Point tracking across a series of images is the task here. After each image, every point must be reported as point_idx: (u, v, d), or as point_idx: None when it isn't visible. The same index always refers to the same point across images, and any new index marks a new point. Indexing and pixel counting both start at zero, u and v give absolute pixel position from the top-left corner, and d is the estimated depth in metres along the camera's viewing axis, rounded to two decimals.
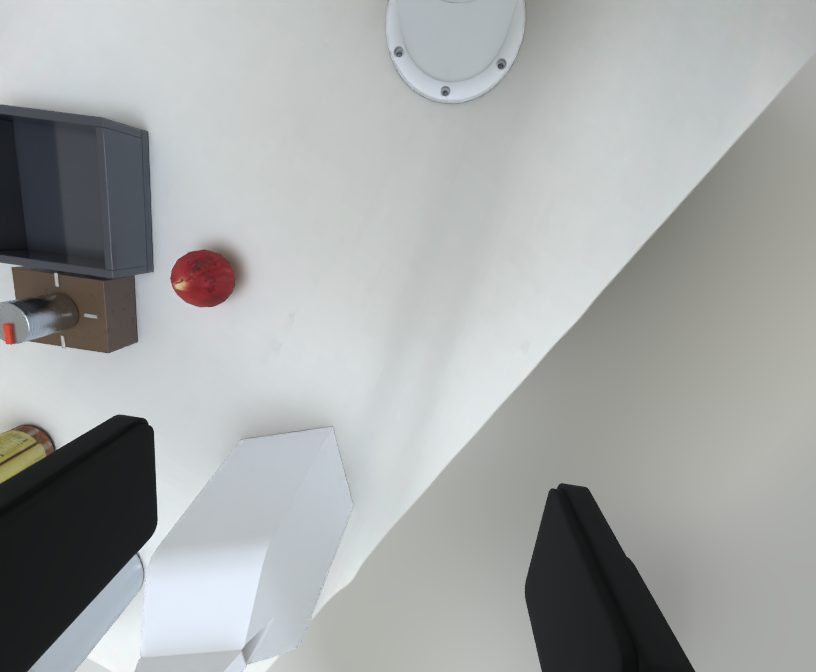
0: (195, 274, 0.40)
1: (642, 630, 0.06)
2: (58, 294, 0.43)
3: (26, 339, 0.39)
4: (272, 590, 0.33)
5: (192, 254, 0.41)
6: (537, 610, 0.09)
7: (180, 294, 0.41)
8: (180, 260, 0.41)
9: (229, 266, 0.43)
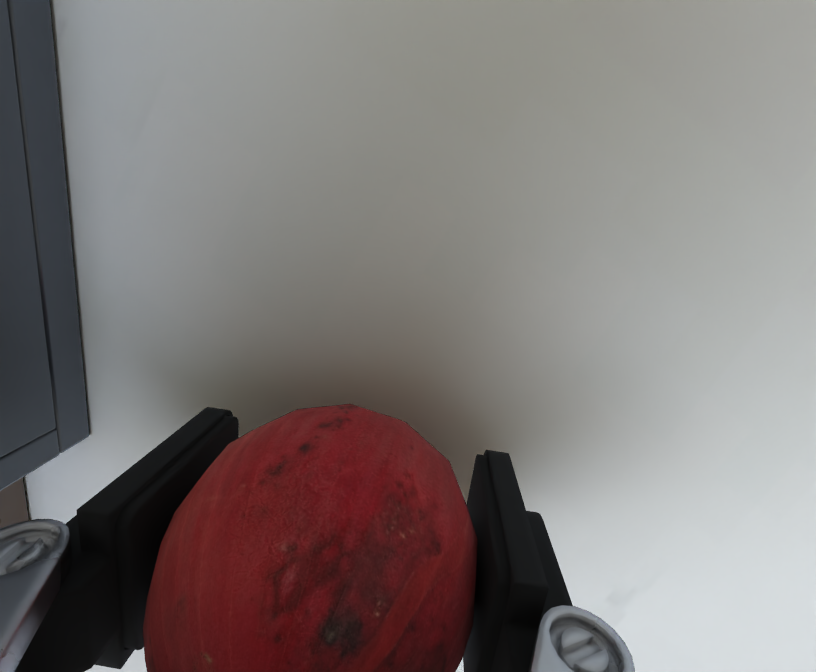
0: None
1: (518, 559, 0.07)
2: None
3: None
4: None
5: (284, 482, 0.06)
6: None
7: None
8: (210, 536, 0.06)
9: (458, 488, 0.08)
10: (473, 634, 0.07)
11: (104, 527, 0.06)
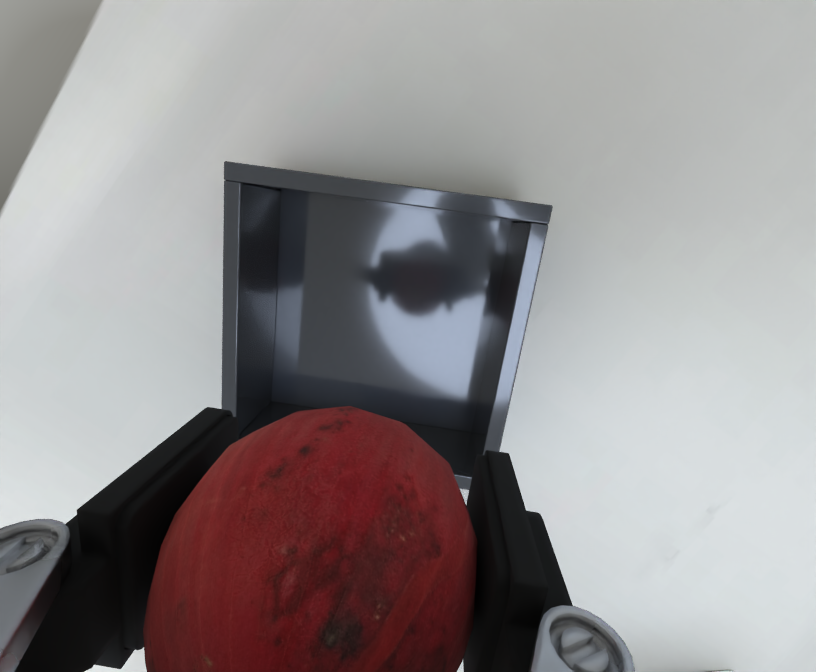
0: None
1: (518, 559, 0.07)
2: None
3: None
4: None
5: (285, 485, 0.06)
6: None
7: None
8: (210, 539, 0.06)
9: (458, 490, 0.08)
10: (473, 634, 0.07)
11: (105, 527, 0.06)
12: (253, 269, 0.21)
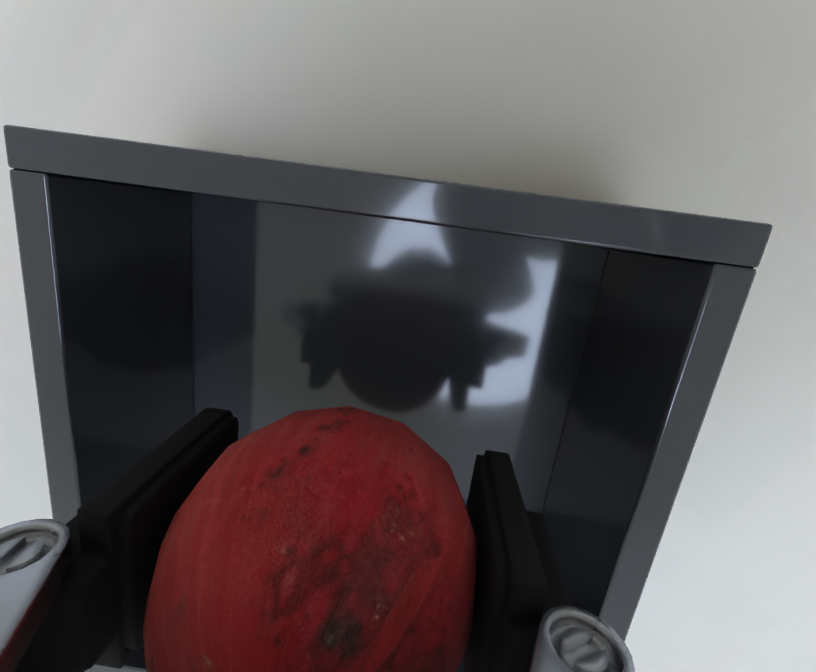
0: None
1: (518, 559, 0.07)
2: None
3: None
4: None
5: (285, 486, 0.06)
6: None
7: None
8: (210, 539, 0.06)
9: (458, 490, 0.08)
10: (473, 634, 0.07)
11: (105, 527, 0.06)
12: (118, 346, 0.11)
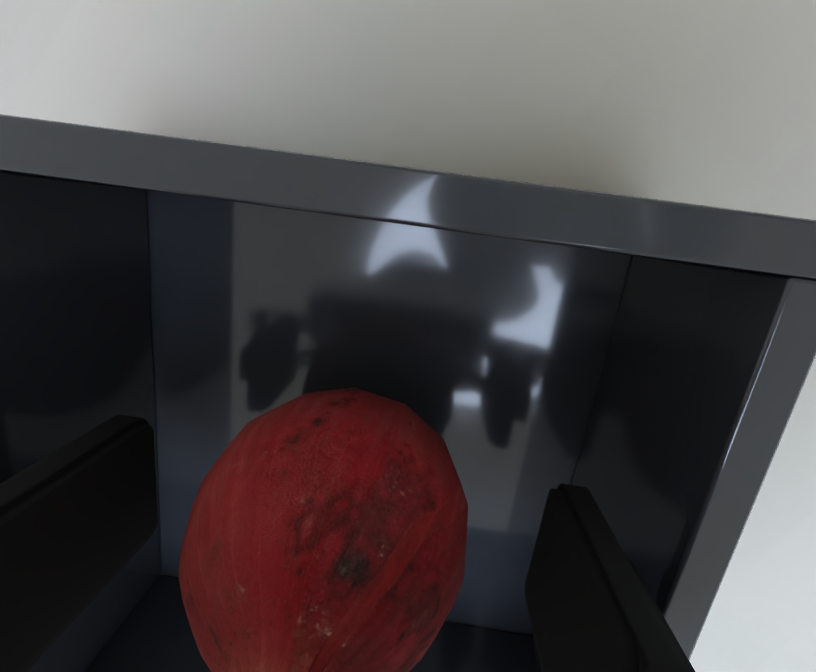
0: (348, 626, 0.06)
1: (642, 630, 0.06)
2: None
3: None
4: None
5: (301, 449, 0.07)
6: (537, 610, 0.09)
7: None
8: (239, 493, 0.07)
9: (451, 462, 0.09)
10: None
11: None
12: (49, 372, 0.09)
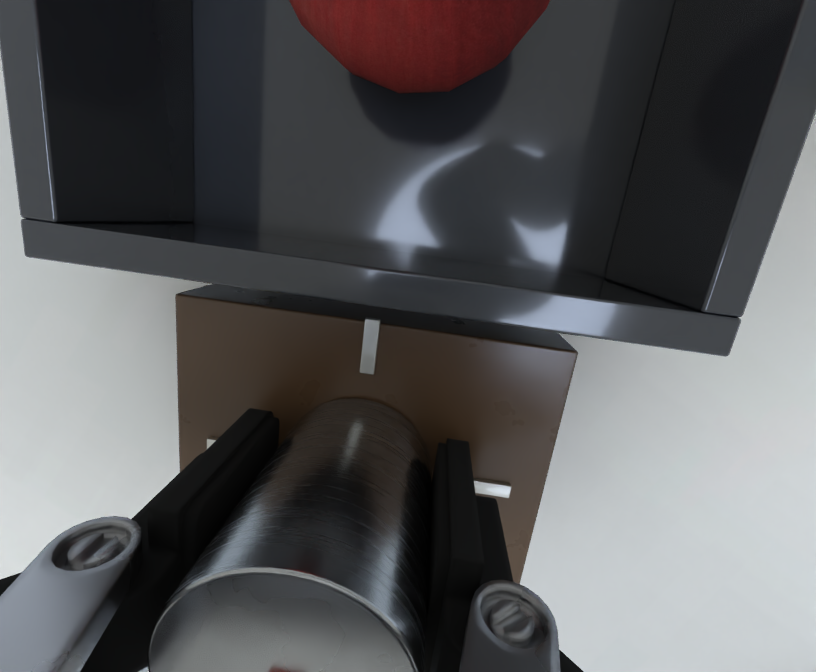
0: None
1: (459, 537, 0.07)
2: (375, 408, 0.10)
3: None
4: None
5: None
6: None
7: None
8: None
9: None
10: None
11: (172, 524, 0.07)
12: None
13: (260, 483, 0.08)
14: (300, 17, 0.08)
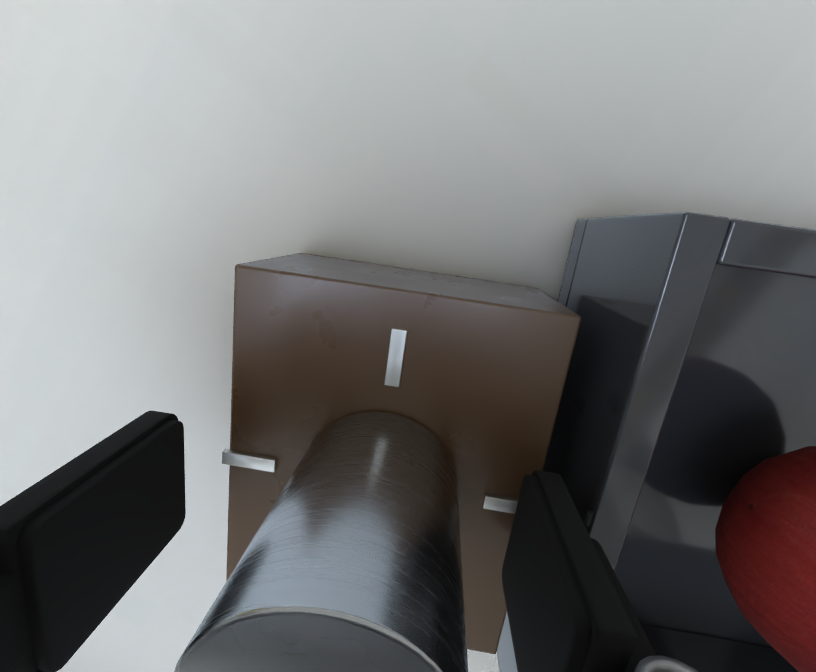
0: None
1: (597, 601, 0.06)
2: (396, 421, 0.10)
3: None
4: None
5: None
6: (511, 592, 0.09)
7: None
8: None
9: None
10: None
11: (4, 543, 0.06)
12: None
13: (281, 508, 0.07)
14: None
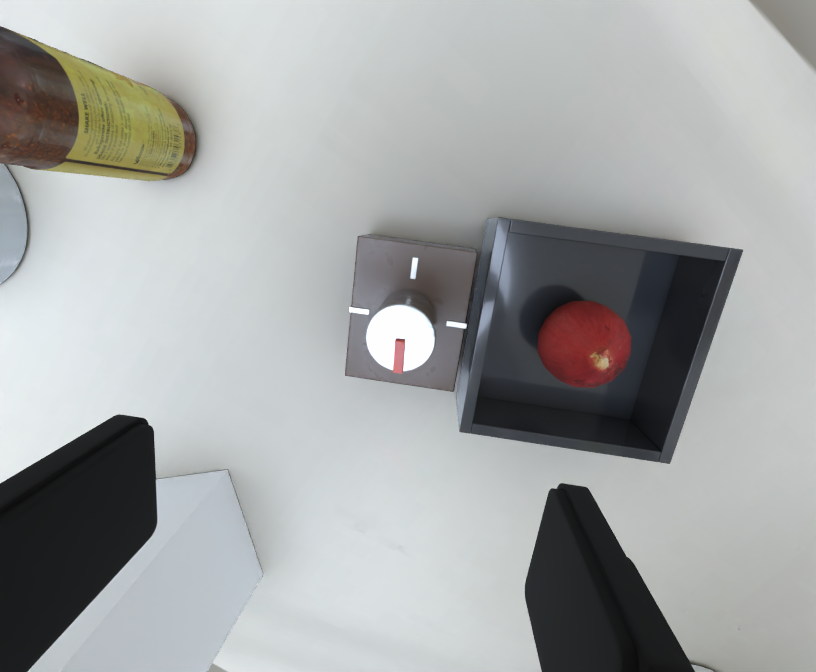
0: (611, 373, 0.25)
1: (642, 630, 0.06)
2: (414, 290, 0.28)
3: (422, 363, 0.24)
4: None
5: (630, 348, 0.27)
6: (537, 610, 0.09)
7: (579, 339, 0.25)
8: (627, 336, 0.26)
9: None
10: None
11: None
12: None
13: (383, 303, 0.25)
14: (560, 311, 0.27)
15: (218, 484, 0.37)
